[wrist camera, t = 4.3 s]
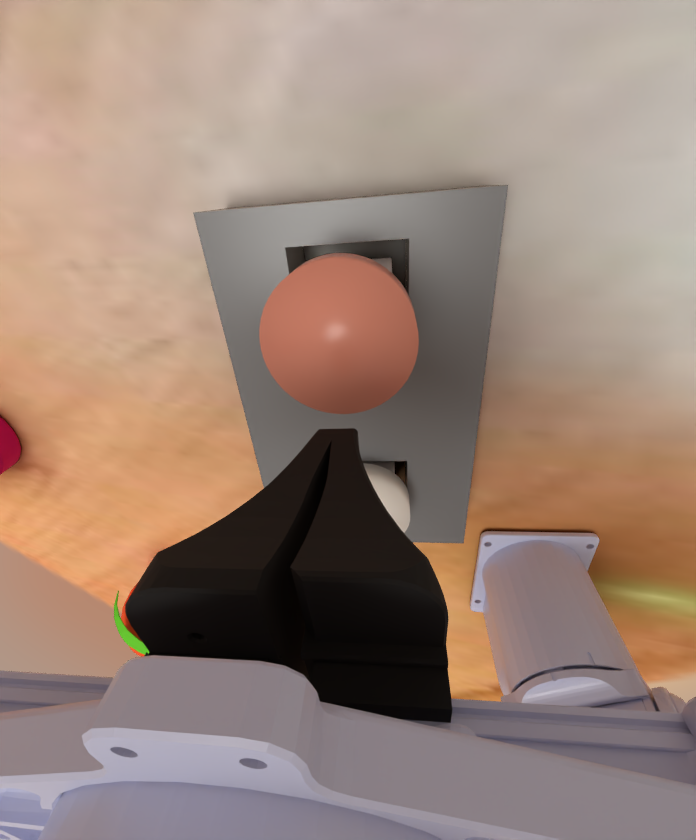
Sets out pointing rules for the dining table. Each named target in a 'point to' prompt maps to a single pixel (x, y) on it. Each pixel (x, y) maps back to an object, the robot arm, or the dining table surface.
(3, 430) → the pepper mill
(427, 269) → the bar
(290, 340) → the plunger red
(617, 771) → the robot arm
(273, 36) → the dining table surface
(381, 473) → the plunger white
